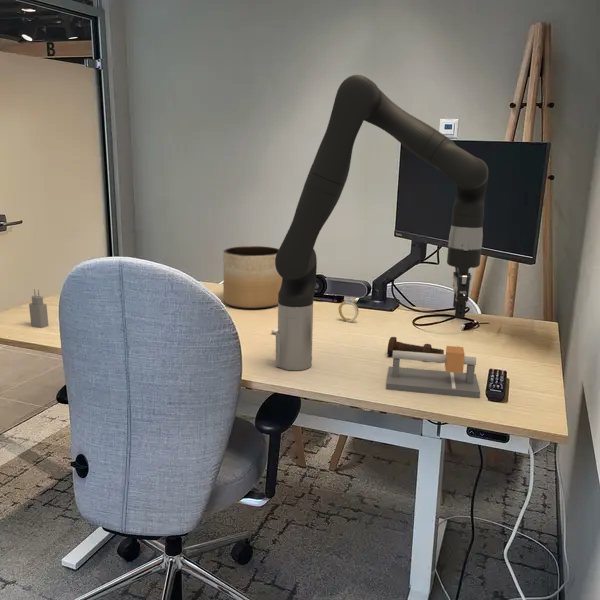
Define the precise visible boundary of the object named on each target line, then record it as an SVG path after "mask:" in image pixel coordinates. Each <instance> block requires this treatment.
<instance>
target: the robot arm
mask: <svg viewBox="0 0 600 600" xmlns="http://www.w3.org/2000/svg"><path fill="white" fill-rule="evenodd" d="M330 113H331V114H330V116H329V121H328V124H327V127H326V130H325V133H324V136H323V137H322V139H321V142H320V144H319V146H318V149H317V152H316V154H315V157H314V159H313V162H312V164H311V166H310V169H309V171H308V173H307V177H306V180H305V182H304V185H303V188H302V190H301V191H302V192H301V194H300V196H299V200H298V202H297V205H296V209H295V212H294V215H293V218H292V221H291V223H290V226H289V229H288V230H287V233H286V235H285V237H284V238H283V240H282V242H281V244H280V246H279V248H278V249H279V250H278V252H277V254H276V258H275V266H276V270H277V272H278V274H279V275H280V276H281V277H282V284H281V288H280V291H279V293H278V305H277V328H278V331H277V332H276V334H275V367H276V368H280V369H283V370H287V371H303V370H307V369H309V368H311V367H312V365H313V361H312V360H313V331H314V330H313V329H314V328H313V327H314V325H313V324H314V296H315V292H316V287H317V284H316V283H317V268H318V267H317V263H318V261H317V253H316V250H315V245H316V242H317V239H318V237H319V234H320V232H321V230H322V228H323V227H324V225H325V224H326V222H327V221H328V219H329V217H330V216H331V214H332V212H333V211H334V210H335V207H336V206H337V204H338V203H339V200H340V198H341V195H342V192H343V190H344V187H345V185H346V183H347V180H348V177H349V172H350V168H351V163H352V157H353V156H352V155H353V149H354V144H355V142H356V141H355V140H356V138H357V136H358V134H359V131H360V129H361V127H362V125H363V123H364V121H365V122H366V123H369V124H371V125H373V126H375V127H378V128H379V129H381V130H383V131H385V133H387V134H389V135H391V136H392V137H393V138H394V139H395V140H396V141H397V142H399V143H400V144H401V145H402V146H404V148H406V149H407V150H408V151H410V152H411V153H413V154H414V155H415V156H416V157H417V158H420V159H421V160H422V161H424V162H425V163H426V164H429V165H430V166H432V167H433V168H435V169H437V170H438V171H440V172H441V173H442V174H444V176H445V177H447V178H448V179H449V180H451V181H452V182H453V183H454V184H456V187H455V189H456V191H455V200H454V203H453V206H452V213H451V215H452V216H451V224H450V230H449V236H448V245H447V256H446V264H447V265H448V266H451V267H454V269H455V270H454V271H453V272H452V279H453V280H452V287H453V290H452V291H453V303H452V307H453V308H454V309H455V311H454V316H455V318H459V319H460V318H461V319H464V318H465V316H466V310H467V309H466V307H467V302H468V301H469V299H470V298H469V293H470V290H471V282H472V274H471V272H470V271H469V270H470V269H471V268H472V269H475V268H476V269H477V268H478V267H480V265H481V258H482V256H481V255H482V247H483V237H484V233H483V226H484V219H485V199H486V192H487V189H488V188H487V187H488V180H489V166H488V165H487V163H486V162H485V161H484V160H483V159H482V158H478V157H476V156H475V155H473V154H471V153H470V152H468V151H466V150H465V149H463V148H461V147H459V146H458V145H457V144H456V143H455V142H454V141H453V140H452V139H451V138H450V137H448V136H446V135H444V134H443V133H441V132H440V131H439V130H437V129H435V127H433V126H431V125H429V124H427V123H426V122H425V121H422V120H421V119H420V118H417V117H416V116H414V115H413V114H410V113H409V112H407V111H406V110H404V109H402V107H400V106H399V105H397V104H396V103H395V102H394V101H392V100H391V99H390V98H389V97H388V95H387V96H386V94H385V93H384V92H383V91H382V90H381V89H380V88H379V86H378V85H377V84H376V83H375V82H374V81H373V80H371V79H370V78H368V77H366V76H365V75H362V74H353V75H351V76H347V78H345V79H344V80H343V81H342V82H341V84H340V85H339V87H338V89H337V92H336V94H335V98H334V103H333V105H332V110H331V112H330Z"/></svg>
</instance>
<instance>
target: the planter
mask: <svg viewBox="0 0 600 600" xmlns="http://www.w3.org/2000/svg"><path fill="white" fill-rule="evenodd" d="M278 250H279V248H276V247H271V246H264V245H263V246H259V245H256V246H255V245H246V246H245V245H244V246H243V245H242V246H233V247H228V248H225V249H224V250H223V252H222V253H223V261H222V262H223V264H222V265H223V278H222V279H223V281H222V282H223V283H222V284H223V288H222V289H223V294H222V295H223V296H222V297H223V301H224V303H225V304H227V306H230V307H232V308H236V309H242V310H262V309H264V310H265V309H270V308H273V307H276V306H278V293H279V291H280V288H281V284H282V277H281V276H280V275H279V274H278V272H277V270H276V266H275V258H276V254H277V252H278Z"/></svg>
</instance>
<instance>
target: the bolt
mask: <svg viewBox="0 0 600 600" xmlns="http://www.w3.org/2000/svg"><path fill="white" fill-rule="evenodd" d="M397 339H398V338H397V337H396V336H391V337H390V338H389V340H388V343H387V352H386V353H387V356H388V357H392V356H393V350H395V351H408V352H420V353H432V354H445V350H444V349H443V348H442V349H441V348H437V347H436V348H434V347H432V344H430V343H425V344H423V345H416V344H412V343H408V342H407V343H406V342H402V341H398V340H397Z"/></svg>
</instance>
